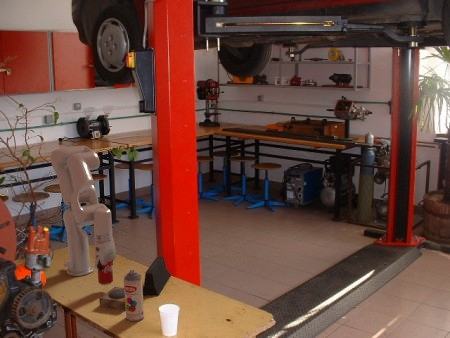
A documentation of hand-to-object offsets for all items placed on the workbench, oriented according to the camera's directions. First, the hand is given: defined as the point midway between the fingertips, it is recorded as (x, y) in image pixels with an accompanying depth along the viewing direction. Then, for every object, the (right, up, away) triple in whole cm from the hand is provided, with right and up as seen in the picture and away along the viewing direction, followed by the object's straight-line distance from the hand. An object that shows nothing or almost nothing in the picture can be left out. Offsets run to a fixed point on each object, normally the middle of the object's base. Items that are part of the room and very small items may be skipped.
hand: (105, 276), depth 242 cm
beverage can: (0, -3, 0) cm, 3 cm away
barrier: (+21, -5, +6) cm, 23 cm away
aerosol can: (+17, -11, -26) cm, 33 cm away
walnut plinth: (+9, -9, -12) cm, 17 cm away
